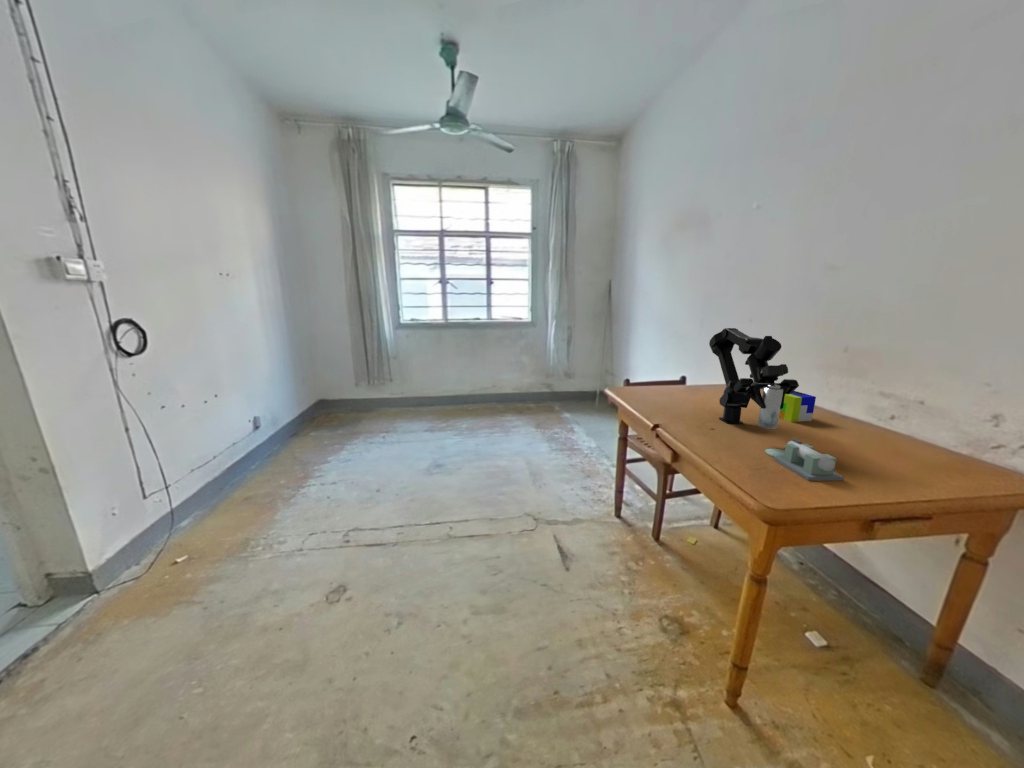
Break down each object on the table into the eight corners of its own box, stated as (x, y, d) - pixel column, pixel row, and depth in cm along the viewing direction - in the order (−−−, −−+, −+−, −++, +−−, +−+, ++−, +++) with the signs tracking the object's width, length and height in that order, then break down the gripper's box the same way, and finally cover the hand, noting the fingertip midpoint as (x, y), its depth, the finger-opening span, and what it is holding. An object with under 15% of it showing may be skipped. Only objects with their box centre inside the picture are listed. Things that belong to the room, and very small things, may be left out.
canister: (757, 422, 141) (763, 382, 138) (775, 425, 139) (782, 384, 135) (758, 427, 136) (765, 386, 133) (777, 429, 134) (785, 388, 131)
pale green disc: (759, 449, 134) (759, 448, 134) (783, 449, 134) (783, 448, 134) (775, 459, 126) (775, 458, 126) (801, 458, 127) (801, 458, 126)
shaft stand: (773, 459, 126) (777, 438, 124) (805, 459, 126) (809, 438, 124) (807, 480, 112) (812, 456, 110) (843, 480, 112) (848, 456, 111)
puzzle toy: (811, 420, 165) (816, 396, 163) (790, 422, 163) (795, 397, 161) (790, 413, 174) (794, 390, 172) (770, 414, 172) (774, 391, 170)
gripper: (742, 354, 136) (755, 395, 128) (800, 355, 135) (817, 396, 127) (728, 372, 146) (739, 411, 138) (782, 374, 145) (796, 413, 137)
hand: (772, 408), depth 135 cm, fingers closed on canister, 5 cm apart
